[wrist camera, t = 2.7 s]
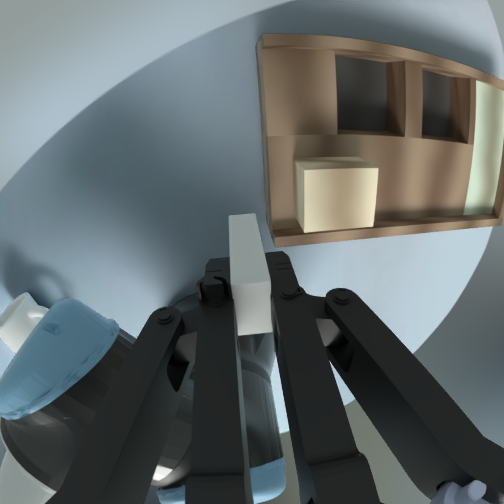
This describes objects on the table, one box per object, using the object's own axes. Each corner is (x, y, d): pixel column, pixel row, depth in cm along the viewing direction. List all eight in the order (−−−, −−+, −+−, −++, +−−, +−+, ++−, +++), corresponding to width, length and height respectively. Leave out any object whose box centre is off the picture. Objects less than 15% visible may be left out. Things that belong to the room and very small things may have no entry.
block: (293, 213, 26) (304, 232, 23) (292, 158, 24) (304, 170, 20) (355, 208, 27) (373, 226, 23) (357, 156, 24) (378, 168, 21)
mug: (49, 345, 38) (32, 381, 31) (10, 300, 33) (-13, 335, 27) (95, 328, 37) (78, 371, 30) (51, 274, 32) (23, 314, 25)
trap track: (266, 222, 31) (275, 247, 26) (255, 45, 22) (262, 33, 17) (476, 208, 32) (501, 225, 28) (488, 82, 23) (518, 87, 18)
